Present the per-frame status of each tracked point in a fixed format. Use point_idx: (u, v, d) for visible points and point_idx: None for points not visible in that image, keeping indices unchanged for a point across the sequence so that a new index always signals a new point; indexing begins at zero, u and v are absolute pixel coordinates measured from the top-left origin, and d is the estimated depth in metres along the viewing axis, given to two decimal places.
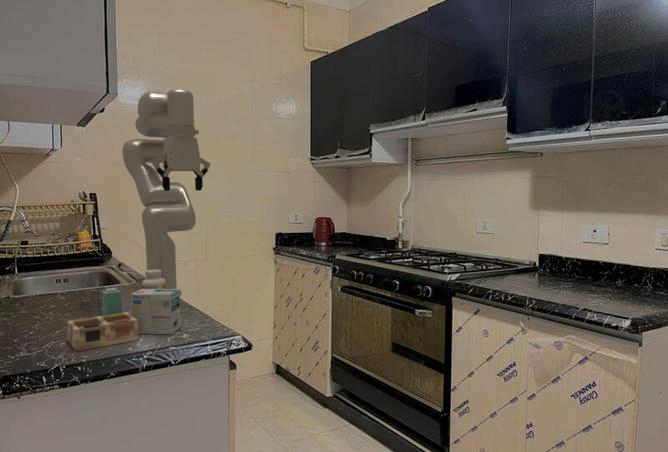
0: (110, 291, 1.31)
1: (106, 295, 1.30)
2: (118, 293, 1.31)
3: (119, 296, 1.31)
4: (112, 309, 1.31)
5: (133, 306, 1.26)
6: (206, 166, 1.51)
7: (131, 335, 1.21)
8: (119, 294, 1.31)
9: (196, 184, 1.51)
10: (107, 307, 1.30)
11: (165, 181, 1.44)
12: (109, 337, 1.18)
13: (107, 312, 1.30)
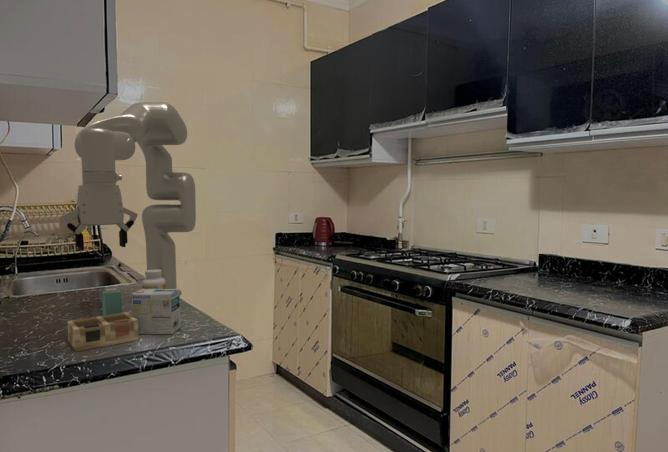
0: (110, 291, 1.31)
1: (106, 295, 1.30)
2: (118, 293, 1.31)
3: (119, 296, 1.31)
4: (112, 309, 1.31)
5: (133, 306, 1.26)
6: (132, 217, 1.27)
7: (131, 335, 1.21)
8: (119, 294, 1.31)
9: (120, 239, 1.26)
10: (107, 307, 1.30)
11: (78, 239, 1.19)
12: (109, 337, 1.18)
13: (107, 312, 1.30)
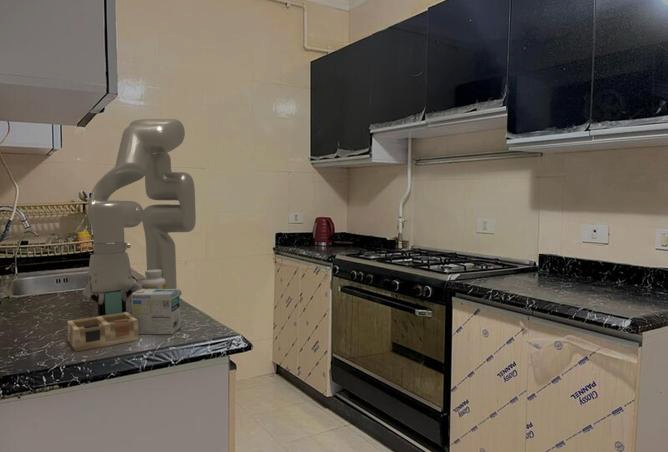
0: None
1: (106, 295, 1.30)
2: (118, 293, 1.31)
3: (119, 296, 1.31)
4: (112, 308, 1.31)
5: (133, 306, 1.26)
6: (132, 288, 1.35)
7: (131, 335, 1.21)
8: (119, 294, 1.31)
9: None
10: (107, 307, 1.30)
11: (100, 308, 1.30)
12: (109, 337, 1.18)
13: (107, 312, 1.30)
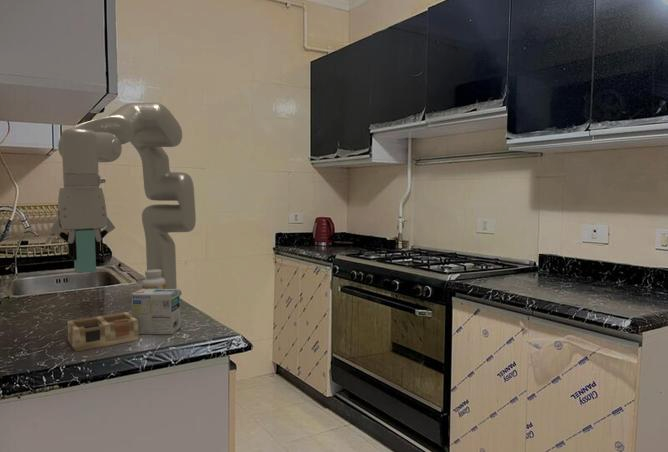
0: None
1: (77, 233, 1.15)
2: (91, 231, 1.17)
3: (92, 235, 1.17)
4: (84, 248, 1.16)
5: (133, 306, 1.26)
6: (108, 228, 1.21)
7: (131, 335, 1.21)
8: (92, 233, 1.17)
9: None
10: (78, 246, 1.16)
11: (71, 248, 1.16)
12: (109, 337, 1.18)
13: (78, 252, 1.16)
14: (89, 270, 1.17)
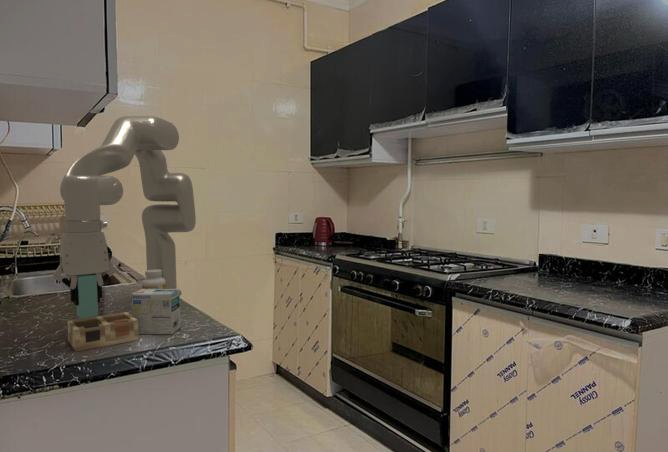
0: None
1: (79, 278, 1.16)
2: (93, 276, 1.18)
3: (94, 280, 1.18)
4: (86, 294, 1.17)
5: (133, 306, 1.26)
6: (110, 272, 1.22)
7: (131, 335, 1.21)
8: (94, 278, 1.18)
9: None
10: (80, 292, 1.17)
11: (73, 294, 1.17)
12: (109, 337, 1.18)
13: (80, 297, 1.17)
14: (91, 315, 1.18)
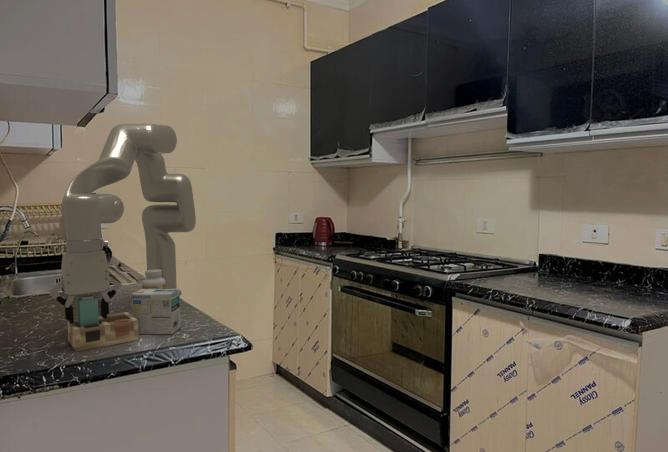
0: (85, 298, 1.18)
1: (81, 303, 1.17)
2: (94, 300, 1.19)
3: (95, 304, 1.19)
4: (88, 318, 1.18)
5: (133, 306, 1.26)
6: (115, 287, 1.23)
7: (131, 335, 1.21)
8: (95, 302, 1.19)
9: (101, 309, 1.22)
10: (82, 316, 1.17)
11: (67, 312, 1.16)
12: (109, 337, 1.18)
13: (82, 322, 1.17)
14: None
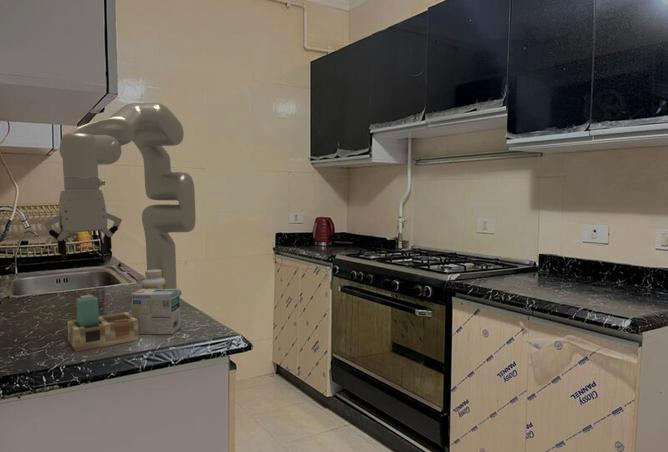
0: (85, 298, 1.18)
1: (81, 303, 1.17)
2: (94, 300, 1.19)
3: (95, 304, 1.19)
4: (88, 318, 1.18)
5: (133, 306, 1.26)
6: (116, 223, 1.25)
7: (131, 335, 1.21)
8: (95, 302, 1.19)
9: (104, 245, 1.25)
10: (82, 316, 1.17)
11: (60, 246, 1.17)
12: (109, 337, 1.18)
13: (82, 322, 1.17)
14: None
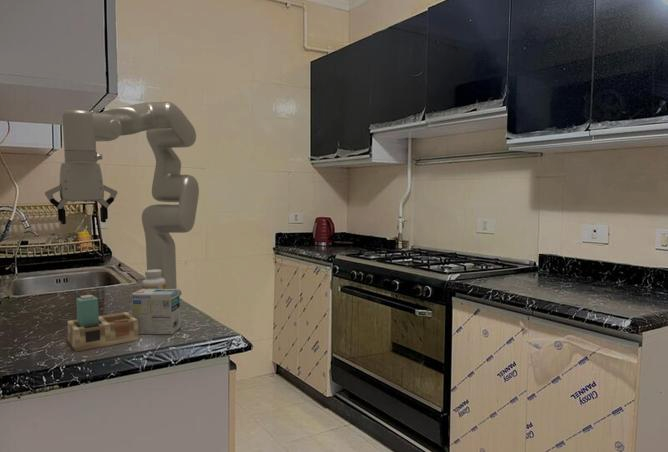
0: (85, 298, 1.18)
1: (81, 303, 1.17)
2: (94, 300, 1.19)
3: (95, 304, 1.19)
4: (88, 318, 1.18)
5: (133, 306, 1.26)
6: (112, 195, 1.35)
7: (131, 335, 1.21)
8: (95, 302, 1.19)
9: (101, 215, 1.34)
10: (82, 316, 1.17)
11: (60, 213, 1.27)
12: (109, 337, 1.18)
13: (82, 322, 1.17)
14: None
